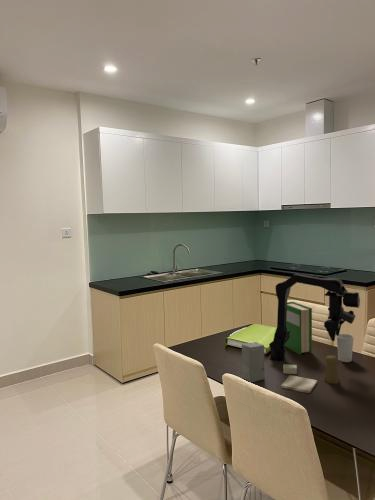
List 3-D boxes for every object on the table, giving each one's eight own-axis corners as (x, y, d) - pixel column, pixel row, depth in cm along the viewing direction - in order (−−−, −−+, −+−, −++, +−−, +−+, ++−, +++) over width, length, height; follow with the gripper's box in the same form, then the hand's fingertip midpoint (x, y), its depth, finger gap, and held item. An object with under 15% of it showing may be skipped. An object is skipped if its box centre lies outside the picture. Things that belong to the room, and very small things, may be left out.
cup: (355, 362, 194) (355, 338, 193) (337, 362, 196) (337, 338, 195) (351, 357, 202) (351, 334, 201) (335, 356, 204) (335, 333, 203)
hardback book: (311, 352, 210) (311, 308, 208) (299, 354, 208) (299, 309, 205) (293, 343, 227) (293, 301, 224) (282, 344, 224) (281, 302, 222)
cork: (322, 378, 177) (322, 354, 176) (335, 377, 178) (335, 353, 177) (328, 384, 171) (328, 359, 170) (341, 383, 172) (341, 358, 171)
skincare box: (250, 383, 174) (249, 348, 173) (241, 377, 181) (240, 343, 179) (265, 379, 178) (265, 344, 177) (256, 373, 184) (255, 340, 183)
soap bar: (283, 373, 184) (283, 367, 184) (283, 370, 188) (283, 364, 188) (296, 374, 183) (296, 368, 183) (296, 371, 187) (296, 364, 187)
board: (281, 387, 169) (281, 385, 169) (290, 377, 179) (290, 375, 179) (309, 393, 163) (309, 391, 163) (317, 382, 173) (317, 380, 173)
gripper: (350, 311, 173) (349, 346, 175) (357, 303, 189) (357, 335, 190) (323, 309, 179) (323, 342, 181) (333, 301, 195) (333, 332, 196)
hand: (335, 338), depth 187 cm, fingers open, 9 cm apart
